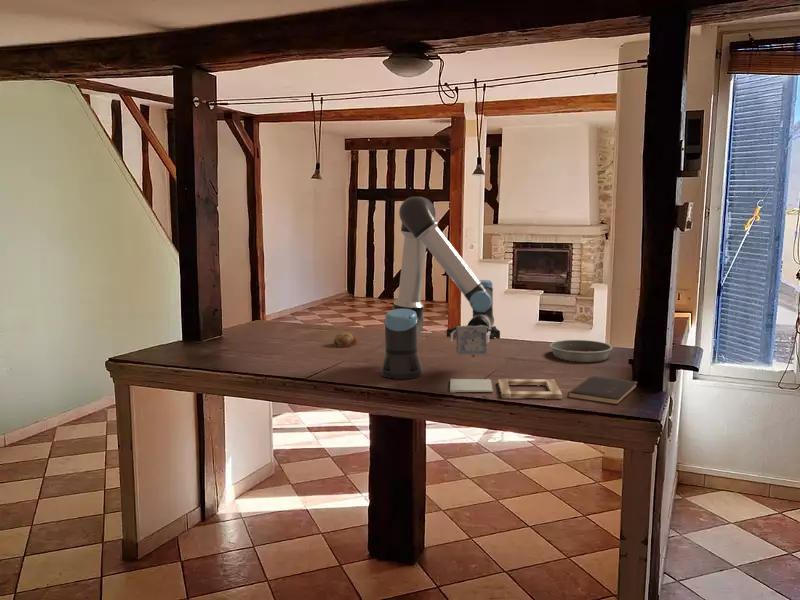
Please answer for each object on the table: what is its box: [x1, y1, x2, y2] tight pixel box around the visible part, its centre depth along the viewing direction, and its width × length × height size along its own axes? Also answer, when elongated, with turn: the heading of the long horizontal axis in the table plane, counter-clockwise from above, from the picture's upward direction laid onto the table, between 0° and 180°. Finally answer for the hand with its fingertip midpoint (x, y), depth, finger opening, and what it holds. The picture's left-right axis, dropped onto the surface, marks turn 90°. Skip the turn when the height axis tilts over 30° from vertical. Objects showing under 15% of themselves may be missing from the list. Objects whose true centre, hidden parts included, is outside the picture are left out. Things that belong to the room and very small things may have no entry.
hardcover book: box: [567, 375, 639, 405], centre depth 217 cm, size 16×23×2 cm
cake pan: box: [549, 339, 613, 363], centre depth 268 cm, size 25×25×4 cm
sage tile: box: [449, 378, 494, 393], centre depth 225 cm, size 14×14×1 cm
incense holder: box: [455, 325, 488, 358], centre depth 222 cm, size 10×8×10 cm
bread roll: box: [333, 331, 358, 348], centre depth 295 cm, size 10×10×8 cm
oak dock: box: [497, 378, 563, 400], centre depth 219 cm, size 19×18×2 cm
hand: (469, 338), depth 218 cm, fingers closed on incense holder, 11 cm apart
